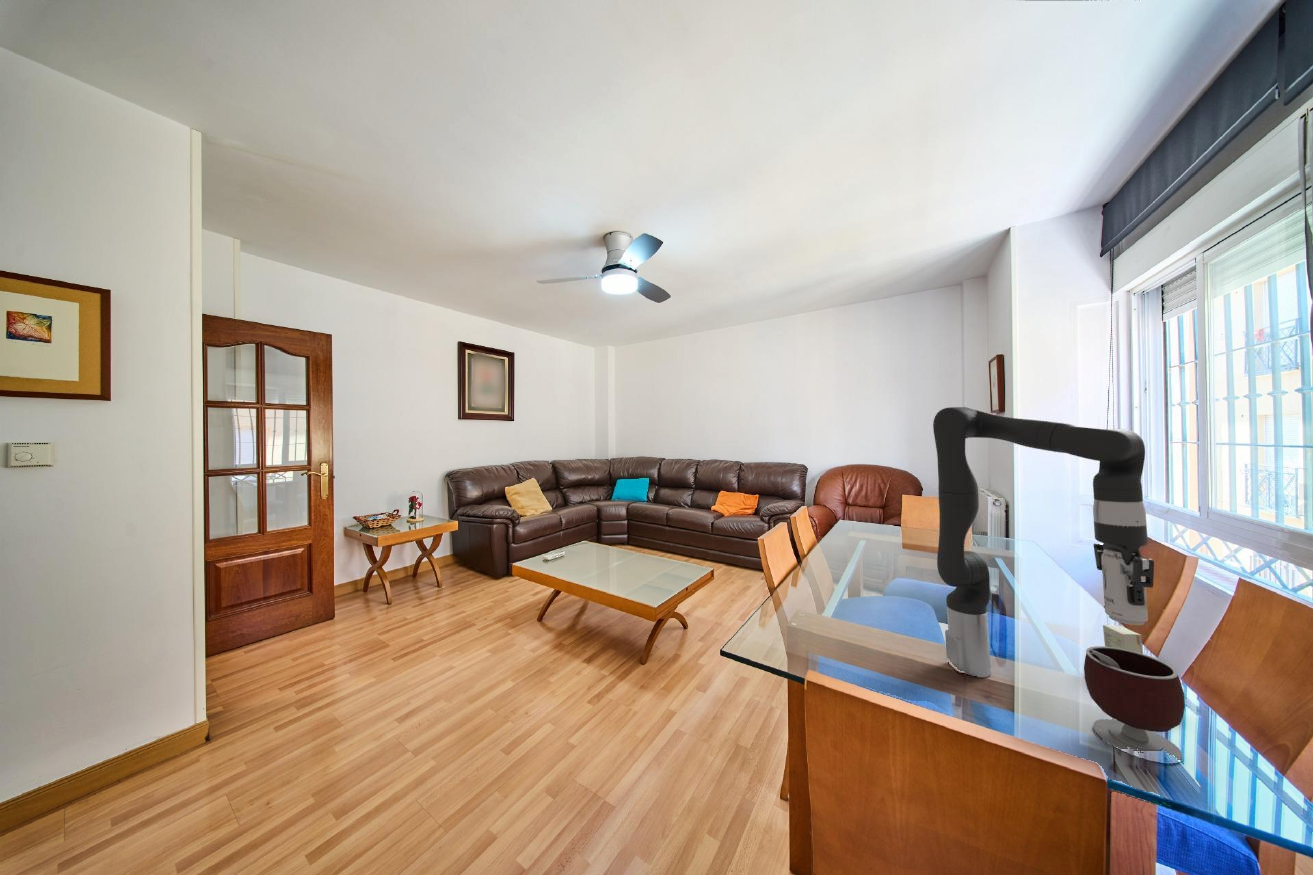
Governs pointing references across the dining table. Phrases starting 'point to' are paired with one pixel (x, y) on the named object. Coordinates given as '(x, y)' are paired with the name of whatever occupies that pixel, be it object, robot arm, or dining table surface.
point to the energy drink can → (1120, 591)
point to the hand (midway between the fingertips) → (1124, 598)
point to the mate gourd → (1134, 698)
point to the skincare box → (1122, 638)
